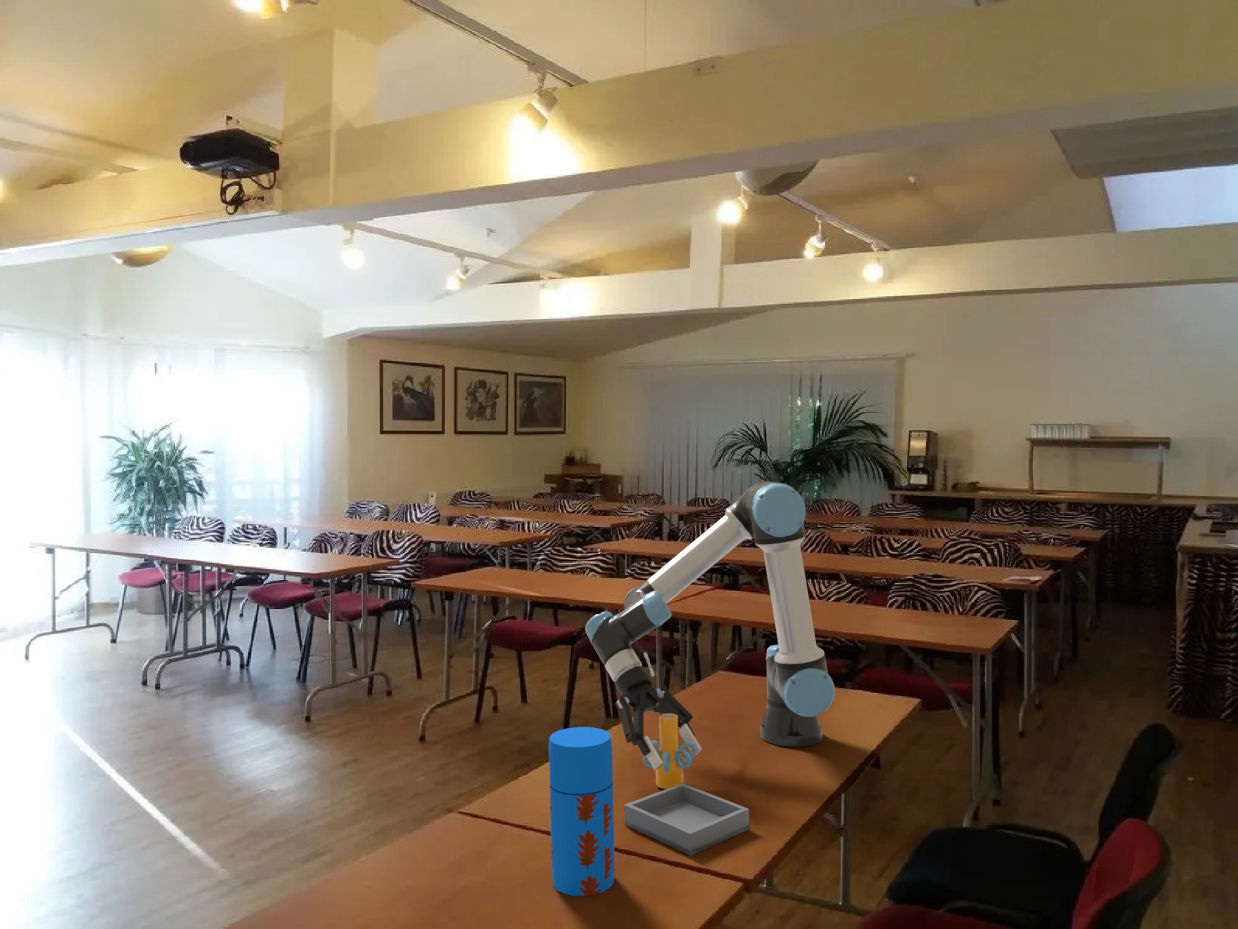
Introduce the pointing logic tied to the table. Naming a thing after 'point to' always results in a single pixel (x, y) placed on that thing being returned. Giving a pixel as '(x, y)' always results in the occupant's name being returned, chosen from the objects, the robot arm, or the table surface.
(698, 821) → the tray
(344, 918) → the table surface
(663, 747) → the cylinder
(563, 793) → the thermos
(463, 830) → the table surface
